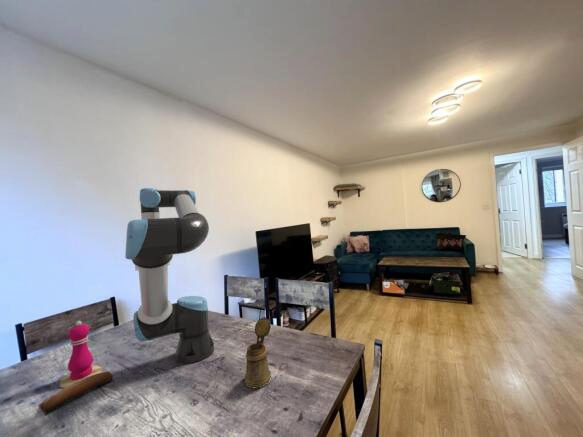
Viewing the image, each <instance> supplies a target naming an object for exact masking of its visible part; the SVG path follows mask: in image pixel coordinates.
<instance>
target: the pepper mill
mask: <svg viewBox="0 0 583 437" xmlns="http://www.w3.org/2000/svg"><path fill="white" fill-rule="evenodd" d="M74 323H75V326H73V327H72V328H70V329H69V331H68V335H67V336H68V339H70V345H71V347H72V352H71V356H70V358H69V361H68V363H67V364H68V365H67V370H68V371H69V372H70V373H71V374H70V373H69V374H70V379H71V380H79V379H82V378H85V377H87V376H88V375H90V374H91V373H92V366H93V363H94V357H93V354H92V353H91V351H90V350H89V348H88V341H89V339H88V338H89V336H88V335H89V333H90V327H89V325H87V324H84V323H82V321H81V320H77V321H76V322H74Z"/></svg>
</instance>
